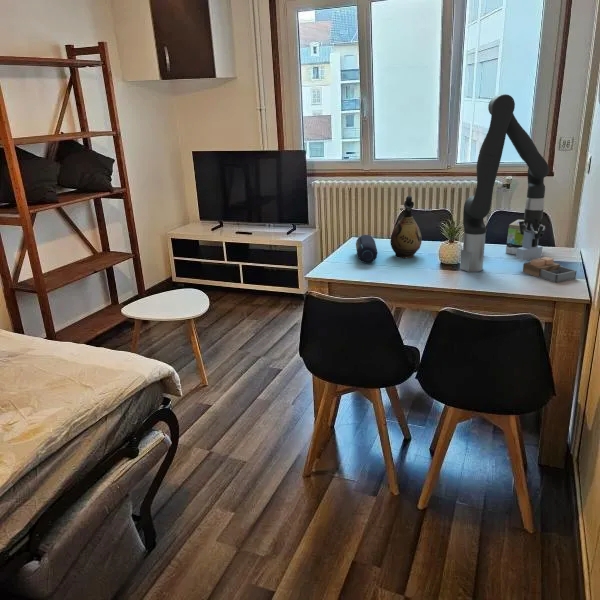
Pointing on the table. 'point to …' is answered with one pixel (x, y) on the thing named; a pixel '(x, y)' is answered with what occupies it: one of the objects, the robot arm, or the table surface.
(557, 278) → the tray
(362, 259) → the portable speaker
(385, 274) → the table surface
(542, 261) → the tile
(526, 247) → the scraper block
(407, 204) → the ceramic jug
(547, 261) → the tile
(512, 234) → the tea box
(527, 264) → the flat wooden box
